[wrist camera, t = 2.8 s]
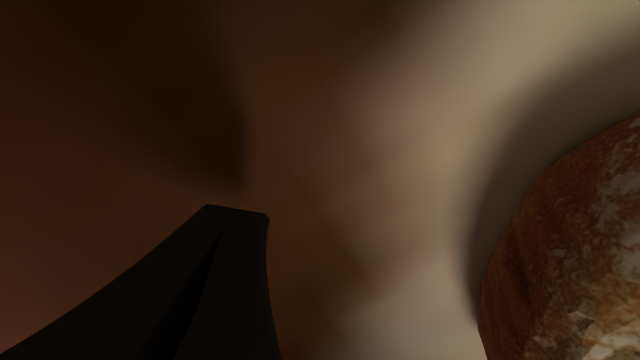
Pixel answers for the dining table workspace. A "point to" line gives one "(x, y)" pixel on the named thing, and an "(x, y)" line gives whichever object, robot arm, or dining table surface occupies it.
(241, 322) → the robot arm
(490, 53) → the dining table surface
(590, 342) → the bread roll
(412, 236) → the dining table surface
